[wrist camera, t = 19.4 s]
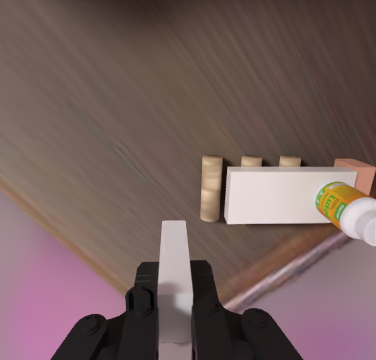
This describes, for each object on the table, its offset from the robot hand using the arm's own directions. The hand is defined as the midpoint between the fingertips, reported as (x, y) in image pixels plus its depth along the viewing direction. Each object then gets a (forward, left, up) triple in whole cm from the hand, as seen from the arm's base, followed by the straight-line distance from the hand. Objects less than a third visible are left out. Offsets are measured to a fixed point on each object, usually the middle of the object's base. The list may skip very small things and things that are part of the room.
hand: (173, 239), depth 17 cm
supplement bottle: (+23, -5, -19) cm, 30 cm away
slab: (+17, -5, -21) cm, 28 cm away
